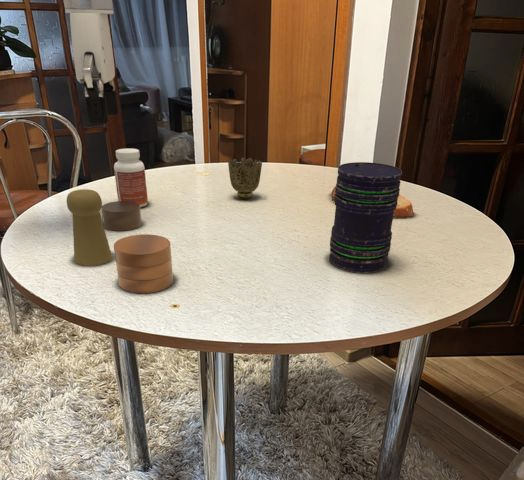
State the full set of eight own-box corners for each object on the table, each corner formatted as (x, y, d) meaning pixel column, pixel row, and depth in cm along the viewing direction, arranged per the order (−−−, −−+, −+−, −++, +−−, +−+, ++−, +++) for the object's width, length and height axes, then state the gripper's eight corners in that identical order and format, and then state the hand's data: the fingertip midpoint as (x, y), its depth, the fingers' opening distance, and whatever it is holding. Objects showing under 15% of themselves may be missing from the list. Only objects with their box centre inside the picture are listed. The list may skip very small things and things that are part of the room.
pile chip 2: (112, 280, 72) (110, 267, 71) (122, 258, 79) (120, 246, 78) (169, 280, 73) (168, 267, 72) (174, 259, 79) (173, 246, 78)
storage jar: (400, 266, 84) (417, 173, 76) (354, 278, 80) (367, 180, 72) (360, 246, 91) (371, 159, 83) (316, 256, 87) (324, 165, 79)
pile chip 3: (114, 293, 73) (112, 280, 72) (124, 270, 80) (122, 258, 79) (170, 293, 74) (169, 280, 73) (175, 271, 80) (174, 259, 79)
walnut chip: (100, 230, 95) (97, 211, 93) (108, 219, 101) (105, 200, 99) (138, 231, 96) (136, 212, 94) (143, 219, 101) (141, 201, 100)
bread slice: (414, 219, 105) (418, 201, 103) (327, 213, 108) (329, 195, 106) (408, 196, 120) (411, 180, 118) (332, 190, 123) (333, 174, 121)
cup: (235, 204, 112) (235, 166, 107) (223, 195, 117) (223, 158, 113) (266, 200, 114) (267, 163, 110) (253, 192, 120) (254, 156, 116)
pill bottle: (154, 205, 109) (149, 151, 103) (129, 211, 106) (122, 154, 100) (138, 199, 113) (132, 146, 107) (113, 204, 109) (106, 149, 103)
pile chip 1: (110, 267, 71) (108, 253, 70) (120, 246, 78) (119, 233, 77) (168, 267, 72) (167, 254, 71) (173, 246, 78) (172, 234, 77)
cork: (113, 251, 87) (104, 185, 81) (111, 265, 82) (101, 196, 76) (76, 252, 86) (64, 186, 80) (71, 266, 81) (58, 196, 75)
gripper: (77, 4, 89) (93, 111, 98) (49, 0, 75) (71, 126, 84) (121, 5, 90) (132, 111, 99) (101, 1, 75) (117, 126, 84)
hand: (104, 118), depth 91 cm, fingers open, 9 cm apart
